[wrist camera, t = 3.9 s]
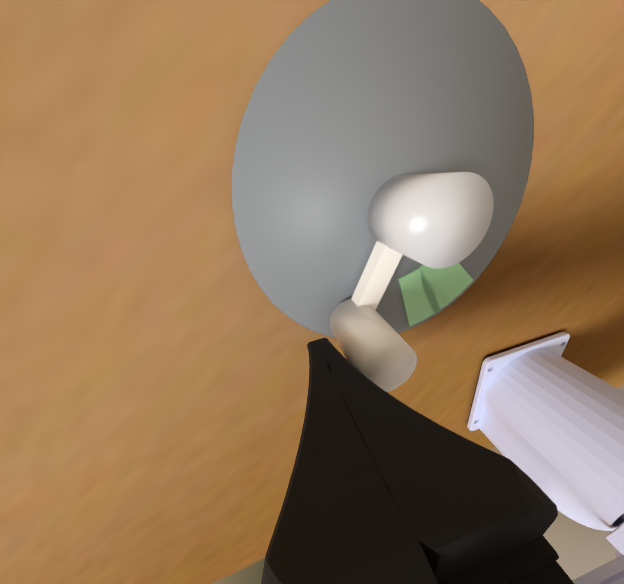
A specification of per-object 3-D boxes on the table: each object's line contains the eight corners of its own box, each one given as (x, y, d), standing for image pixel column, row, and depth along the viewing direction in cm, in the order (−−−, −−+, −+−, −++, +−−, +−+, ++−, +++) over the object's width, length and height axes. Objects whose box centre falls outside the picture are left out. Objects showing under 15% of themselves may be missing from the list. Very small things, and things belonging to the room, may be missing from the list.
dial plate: (483, 295, 15) (499, 303, 14) (279, 357, 13) (281, 370, 13) (548, -20, 9) (585, -46, 8) (168, 23, 7) (155, -3, 6)
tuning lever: (387, 162, 9) (463, 151, 6) (442, 190, 10) (534, 193, 7) (317, 333, 12) (342, 391, 8) (366, 340, 13) (404, 395, 9)
